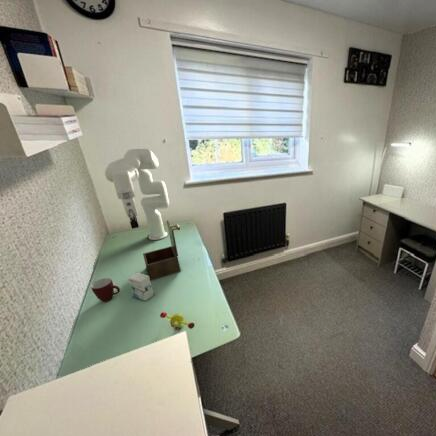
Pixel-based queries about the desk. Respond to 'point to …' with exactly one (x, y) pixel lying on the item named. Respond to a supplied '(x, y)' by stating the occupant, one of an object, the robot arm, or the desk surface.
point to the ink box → (141, 286)
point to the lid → (173, 236)
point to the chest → (161, 263)
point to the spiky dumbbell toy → (176, 320)
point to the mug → (104, 289)
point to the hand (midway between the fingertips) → (134, 224)
